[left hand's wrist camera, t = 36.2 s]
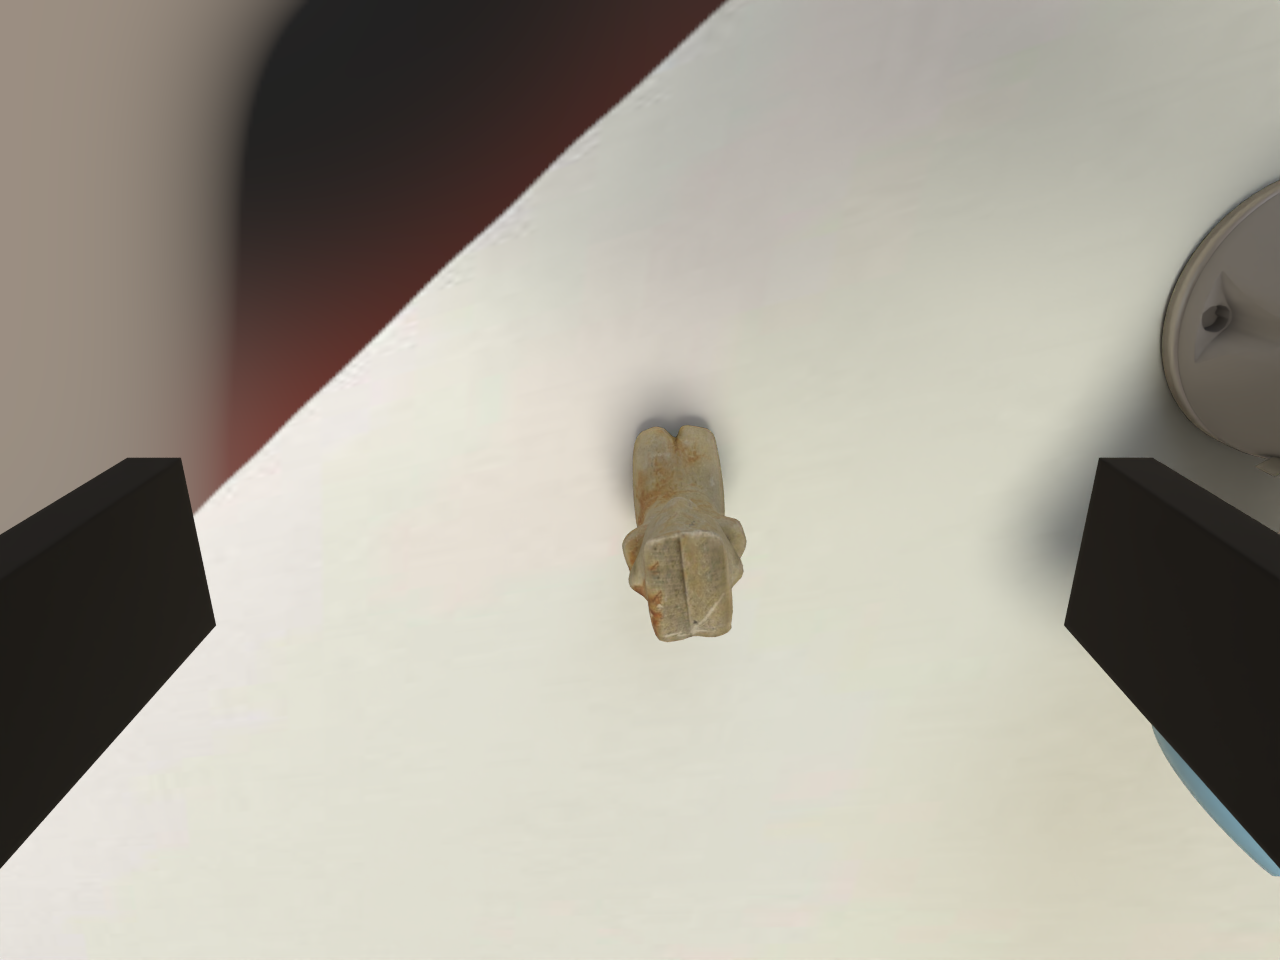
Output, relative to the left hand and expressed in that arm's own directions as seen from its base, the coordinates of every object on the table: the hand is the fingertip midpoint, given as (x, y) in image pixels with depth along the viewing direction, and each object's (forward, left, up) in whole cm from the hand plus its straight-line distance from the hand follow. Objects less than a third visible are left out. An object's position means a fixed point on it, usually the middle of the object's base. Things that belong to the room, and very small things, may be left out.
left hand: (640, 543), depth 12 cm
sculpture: (+7, +10, -34) cm, 36 cm away
